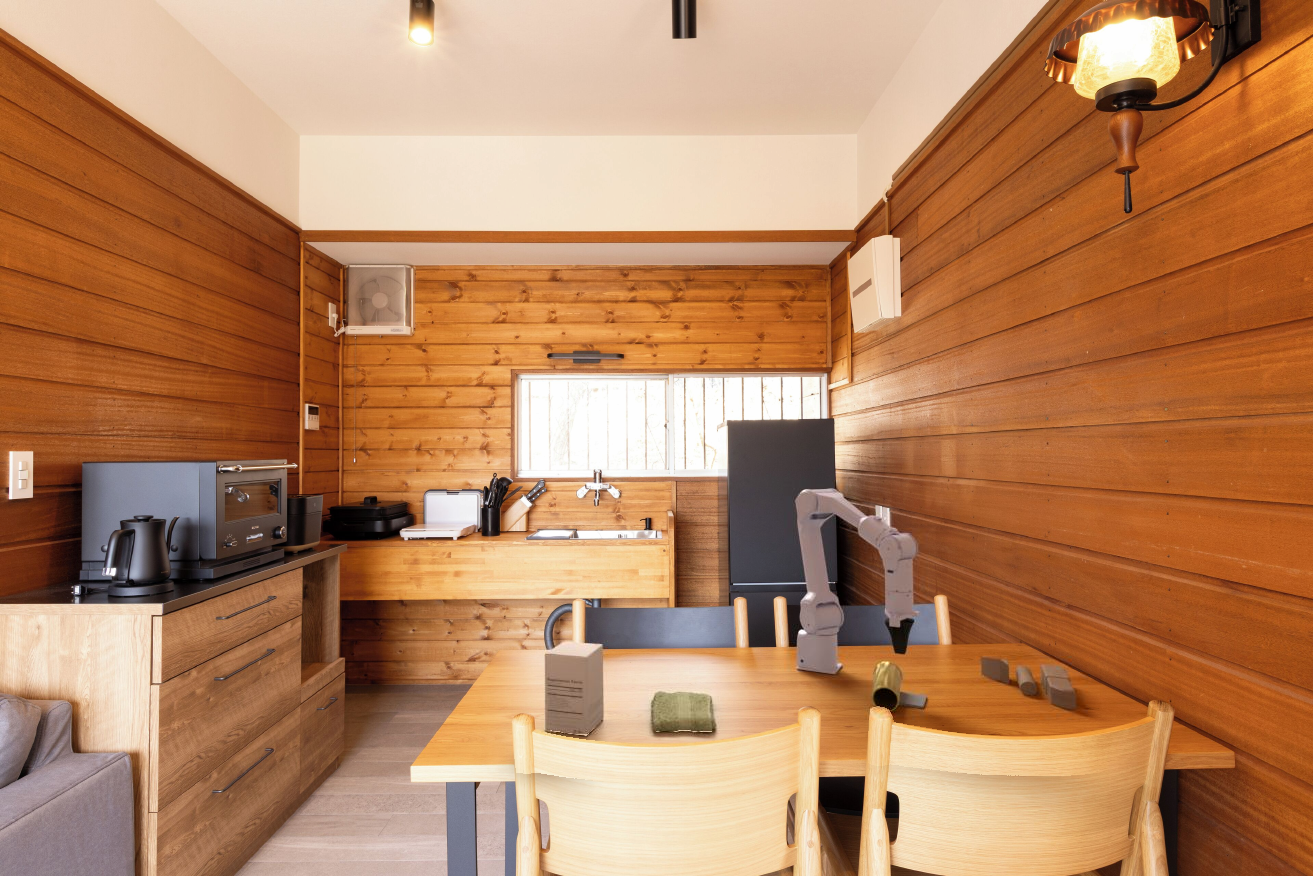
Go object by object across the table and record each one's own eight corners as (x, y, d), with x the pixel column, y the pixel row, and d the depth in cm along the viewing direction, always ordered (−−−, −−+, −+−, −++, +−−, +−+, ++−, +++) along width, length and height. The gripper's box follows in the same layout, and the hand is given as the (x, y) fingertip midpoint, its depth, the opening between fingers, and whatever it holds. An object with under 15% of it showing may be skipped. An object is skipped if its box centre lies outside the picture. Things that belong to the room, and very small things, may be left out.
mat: (872, 700, 140) (872, 698, 140) (878, 690, 146) (878, 688, 146) (923, 708, 135) (923, 706, 135) (926, 698, 142) (926, 695, 142)
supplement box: (563, 714, 134) (563, 640, 134) (604, 719, 131) (604, 643, 132) (543, 732, 125) (543, 652, 125) (586, 737, 122) (586, 656, 123)
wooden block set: (1063, 660, 150) (1076, 685, 134) (1063, 685, 150) (1077, 713, 134) (981, 651, 157) (984, 674, 141) (981, 675, 157) (984, 701, 141)
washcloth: (712, 702, 141) (712, 686, 141) (717, 736, 124) (716, 719, 124) (651, 702, 142) (651, 687, 142) (647, 736, 124) (647, 719, 124)
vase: (907, 670, 145) (906, 695, 131) (895, 694, 146) (893, 720, 132) (880, 656, 147) (877, 678, 133) (868, 679, 148) (864, 704, 134)
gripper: (914, 598, 135) (915, 665, 134) (922, 585, 147) (923, 647, 147) (878, 594, 138) (879, 660, 138) (889, 583, 151) (890, 643, 150)
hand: (900, 653), depth 143 cm, fingers closed
